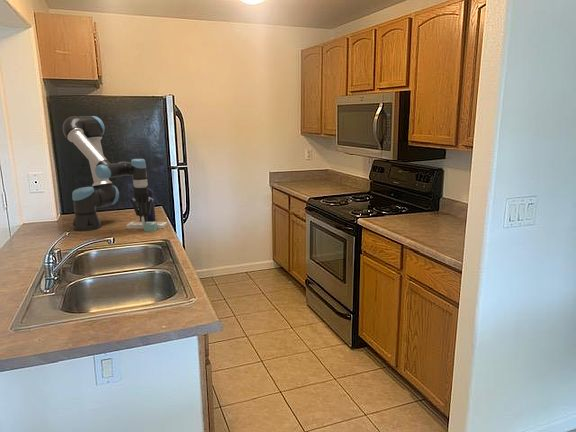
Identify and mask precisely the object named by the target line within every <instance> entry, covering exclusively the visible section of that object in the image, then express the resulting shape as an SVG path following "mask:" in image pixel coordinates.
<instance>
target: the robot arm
mask: <svg viewBox="0 0 576 432" xmlns="http://www.w3.org/2000/svg"><path fill="white" fill-rule="evenodd" d="M105 129H106V128H105V124H104V122H103V120H102V119H101V118H99V117H98V116H95V115H80V116H79V115H74V116H69V117H68V118H66V119H65V120H64V121H63V124H62V132H63V135H64V137H65V138H66V139H67V141H69V142H70V143H73V145H74V146H76V148H77V149H78V150H79V151H80V152H81V153H82V154H83V156H85V158H86V159H87V160H88V163H89V166H90V172H91V175H92V180H93V183H92V184H91V186H85V187H84V186H83V187H78V188H75V190H73V191H72V192H71V193H72V194H71V195H72V196H71V197H72V198H71V199H72V204H73V211H74V218H73V223H72V230H74V231H77V232H78V231H79V232H81V231H84V232H85V231H91V230H97V229H100V228H101V227H102V222H101V220H100V218H99V216H98V214H97V209H99V208H103V207H104V208H105V207H110V206H112V205H115V204H116V203H117V202H118V201H119V198H120V192H119V188H118V187H117V186H116V185H114V184H113V182H112V181H111V180H110V179H111V178H118V177H119V178H120V177H123V176H124V177H126V176H132V184H133V192H134V195H133V197H132V198H130V200H129V201H130V203H131V204H132V207H133V209H134V210H133V211H134V212H135V215H136V216H139V222H142V228H144V224H145V223H146V222H147V221H148V220H147V216H148V215H150V213H151V207H152V202H153V200H154V201H155V198H154V199H153V198H150V197H149V195H148V189H149V183H147V181H148V178H147V177H148V173H147V163H146V160H145V159H144V158H133V159H131V161H119V162H115V163H110V161H109V160H108V159H107V158H106V157H105V155H104V152H103V147H102V143H101V140H102V139H103V135H104V134H105ZM147 186H148V187H147ZM148 199H149V200H148ZM147 200H148V201H149V203H148V209H147V205H146V204H147ZM142 205H143V209H142ZM143 213H144V216H143Z"/></svg>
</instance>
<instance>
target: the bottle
mask: <svg viewBox="0 0 576 432" xmlns="http://www.w3.org/2000/svg"><path fill="white" fill-rule="evenodd" d="M148 178H149V177H148V176H147V179H148ZM147 183H148V180H147ZM148 184H149V183H148ZM147 187H148V195H149V197H150V198H153V199H154V200H153V202H152V207H151V213H150V215H148V216H147V220H148V221H147V222H157V219H156V209H155V197H154V191H153V190H152V189H151V188H149V185H148V186H147ZM148 200H149V199H148ZM148 200H147V204H146V205H147V209H148V203H149V201H148ZM142 209H143V205H142ZM143 216H144V213H143Z"/></svg>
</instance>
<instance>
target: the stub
mask: <svg viewBox="0 0 576 432" xmlns="http://www.w3.org/2000/svg"><path fill="white" fill-rule="evenodd" d="M156 222H157V221H153V222H147V223H145V224H144V229H143V231H144V232H156V231H157V230H158V227H157V223H156Z"/></svg>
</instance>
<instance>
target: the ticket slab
mask: <svg viewBox="0 0 576 432" xmlns="http://www.w3.org/2000/svg"><path fill="white" fill-rule="evenodd" d="M155 222H156V223H157V227H158V229H159V230H162V229H161V228H164V229H165V228H166V227H167V225H169V223H168V221H155ZM146 223H147V222H146ZM125 227H126V229H136V230H137V229H138V230H140V229H143V230H144V228H142V222H140V221H131V222H128V223H127V224H126V225H125ZM158 229H157V230H158Z"/></svg>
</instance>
